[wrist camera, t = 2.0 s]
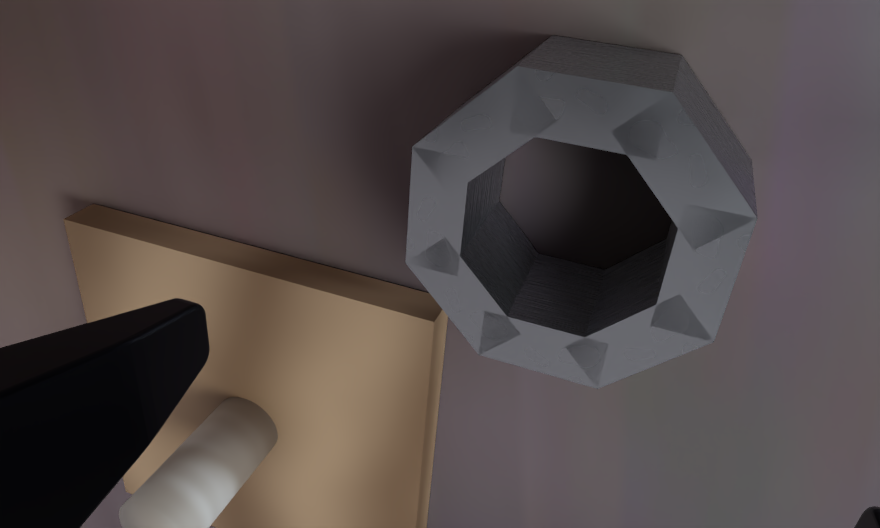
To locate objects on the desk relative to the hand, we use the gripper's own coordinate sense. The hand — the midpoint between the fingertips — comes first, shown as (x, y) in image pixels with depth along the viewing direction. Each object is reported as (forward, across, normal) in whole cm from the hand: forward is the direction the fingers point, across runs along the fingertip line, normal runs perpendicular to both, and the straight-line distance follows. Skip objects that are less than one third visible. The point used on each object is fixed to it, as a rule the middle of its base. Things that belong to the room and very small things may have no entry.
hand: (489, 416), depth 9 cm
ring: (+8, 0, 0) cm, 8 cm away
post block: (+8, +9, +10) cm, 16 cm away
